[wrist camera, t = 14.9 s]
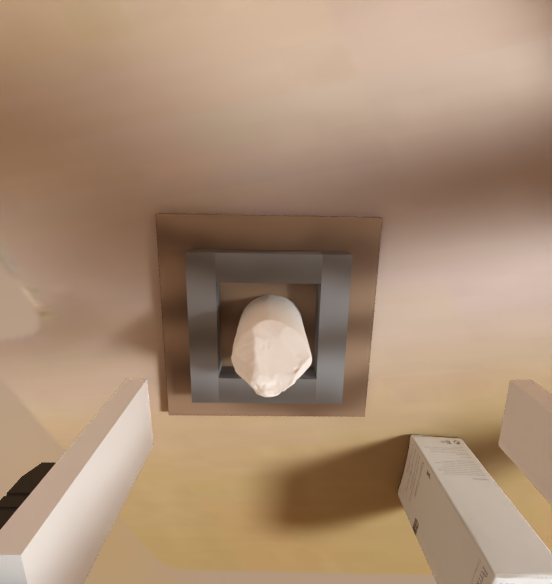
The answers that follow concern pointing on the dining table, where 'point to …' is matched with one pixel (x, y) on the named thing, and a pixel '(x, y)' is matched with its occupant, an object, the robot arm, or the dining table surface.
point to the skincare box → (467, 518)
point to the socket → (258, 282)
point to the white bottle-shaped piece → (271, 345)
